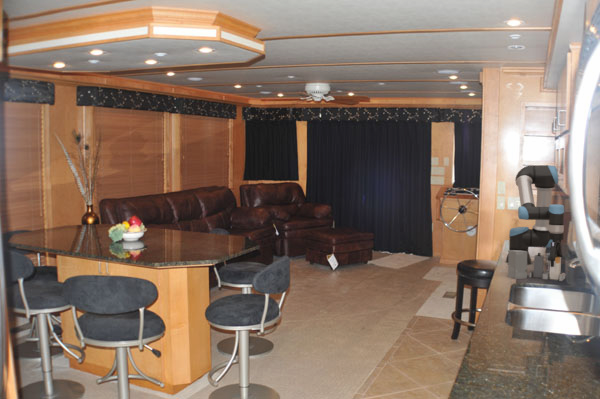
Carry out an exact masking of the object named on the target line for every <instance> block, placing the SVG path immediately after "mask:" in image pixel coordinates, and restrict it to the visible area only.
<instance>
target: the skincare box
mask: <svg viewBox="0 0 600 399" xmlns="http://www.w3.org/2000/svg"><path fill="white" fill-rule="evenodd" d="M507 255H508V263H507V265H508V266H507V268H508V269H507V272H508V273H507V275H508V276H507V277H508V278H509V279H510V278H511V279H514V280H523V279H528V264H527V251H521V250H509V249H508V253H507Z"/></svg>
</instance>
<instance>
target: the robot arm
mask: <svg viewBox="0 0 600 399" xmlns="http://www.w3.org/2000/svg"><path fill="white" fill-rule="evenodd" d="M515 184H516V186H517V187H518V196H519V201H520V206H519V207H518V208H517V216H518V219H519V220H525V221H527V220H528V221H530V220H531V221H533V220H535V224H534V225H532V228H531V229H530V228H529V226H517V227H512V228H510V229H509V235H508V236H509V239H508V240H509V242H508V243H509V244H508V245H509V246H508V247H509V249H508V251H509V250H521V251H527V265H531V264H532V259H531V255H530V253H529V248H543V249H545V248H550V249H549V257H548V259H547V260H548V261H549V271H550V272H551V273H555V267H556V261H555V258H556V254H557V257H560V262H561V263H562V258H563V252H562V241H563V240H564V239H565V238H564V232H565V230H564V228H565V224H564V223H565V220H564V219H565V206H564V205H563V204H556V203H554V204H552V198H553V196H552V194H553V190H554V189H555V187H556V185H558V184H559V174H558V169H557V166H555V165H548V164H546V165H545V164H544V165H527V166H524V167H522V168H521V169H520V170H519V171H518V172H517V173H516V175H515ZM532 185H534V187H535V189H536V202H535V198H534V192H533V188H532ZM535 203H536V204H535ZM505 260H506V261H505V262H506V263H507V264H508V254H507V255H506V259H505Z"/></svg>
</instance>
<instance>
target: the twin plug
mask: <svg viewBox="0 0 600 399" xmlns="http://www.w3.org/2000/svg"><path fill="white" fill-rule="evenodd" d="M541 254H542V253H541V252H538V253H537V254H535V255H534V257H533V259H534V261H533V270H534V277H537V278H536V279H538V278H542V277H543V273H544V272H545V256H544V255H541Z"/></svg>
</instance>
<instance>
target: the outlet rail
mask: <svg viewBox="0 0 600 399" xmlns="http://www.w3.org/2000/svg"><path fill="white" fill-rule="evenodd" d="M528 278H530V279H538V280H539V279H540V280H546V281H547V280H549V281H558V282H563V281H564V280H565V279H566V273H565V272H561V273H560V275H559V280H555V279H550V270H549V271H544V273H543V277H542V278H537V277H534V269H532V270H530V271H528Z"/></svg>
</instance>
